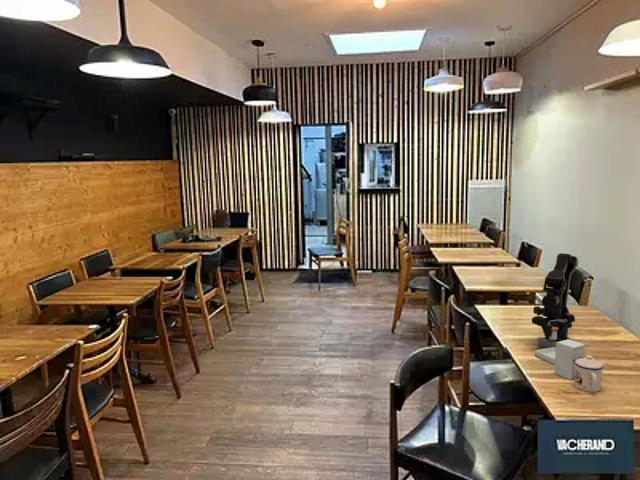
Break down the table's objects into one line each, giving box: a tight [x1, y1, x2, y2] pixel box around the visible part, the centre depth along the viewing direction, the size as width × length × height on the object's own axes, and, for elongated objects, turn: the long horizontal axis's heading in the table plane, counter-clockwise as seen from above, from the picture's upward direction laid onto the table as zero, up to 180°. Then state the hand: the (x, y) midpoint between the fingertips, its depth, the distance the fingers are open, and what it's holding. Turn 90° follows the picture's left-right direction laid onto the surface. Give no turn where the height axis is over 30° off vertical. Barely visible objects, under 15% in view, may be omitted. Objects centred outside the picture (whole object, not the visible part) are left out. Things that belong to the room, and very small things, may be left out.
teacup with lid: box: [573, 354, 604, 393], centre depth 182 cm, size 12×9×12 cm
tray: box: [534, 347, 556, 366], centre depth 211 cm, size 10×10×2 cm
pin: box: [548, 325, 559, 342], centre depth 222 cm, size 5×5×10 cm
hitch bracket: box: [537, 336, 564, 349], centre depth 222 cm, size 8×8×4 cm
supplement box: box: [553, 339, 586, 381], centre depth 194 cm, size 7×7×13 cm
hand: (552, 338), depth 222 cm, fingers open, 6 cm apart
